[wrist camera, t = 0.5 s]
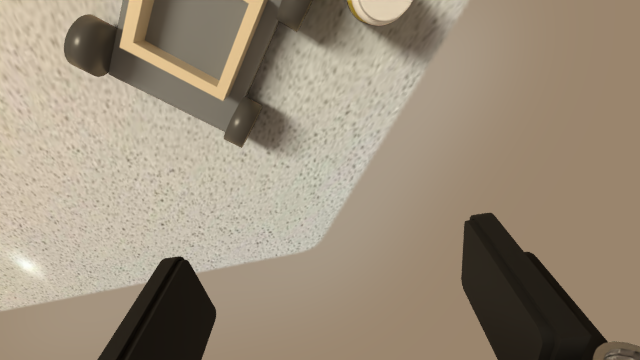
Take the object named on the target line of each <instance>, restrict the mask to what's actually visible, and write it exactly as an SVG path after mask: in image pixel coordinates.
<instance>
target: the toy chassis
mask: <svg viewBox="0 0 640 360" xmlns="http://www.w3.org/2000/svg"><path fill="white" fill-rule="evenodd" d="M312 1H313V0H123V2H122V7H121V12H120V17H119V22H118V27H117V28H116V27H114V26H112V25H110V24H109V23H107V22H105V21H103V20H101V19H99V18H97V17H95V16H93V15H84V16H81V17H80V18H78V19H77V20H76V21H75V22H74V23H73V24H72V26H71V27H70V29H69V30H68V33H67V35H66V38H65V43H64V53H65V57H66V59H67V61H68V62H69V63H70V64H72V65H74V66H76V67H78V68H80V69H82V70H84V71H86V72H88V73H90V74H92V75H94V76H97V77H100V76H104V75H105V74H107V73H108V72H109V75H111V76H113V77H115V78H117V79H119V80H121V81H123V82H125V83H127V84H129V85H131V86H134V87H136V88H138V89H140V90H142V91H144V92H146V93H148V94H150V95H152V96H154V97H156V98H158V99H160V100H162V101H164V102H166V103H168V104H170V105H172V106H174V107H176V108H178V109H180V110H182V111H184V112H186V113H188V114H190V115H192V116H194V117H196V118H198V119H200V120H202V121H204V122H206V123H208V124H210V125H212V126H214V127H216V128H218V129H220V130H222V131H224V132H225V135H224V139H225V140H227V141H229V142H231V143H233V144H235V145H237V146H239V147H241V148H242V147H243V145H244V143H245V142H246V140H247V138H248V136H249V134H250V132H251V130H252V128H253V126H254V124H255V122H256V120H257V117H258V115H259V113H260V111H261V109H262V105H260V104H258V103H257V102H255V101H253V100H251V99H249V98H247V94H248V92H249V90H250V87H251V85H252V83H253V81H254V78H255V76H256V74H257V71H258V69H259V67H260V65H261V62H262V60H263V58H264V55H265V53H266V51H267V49H268V46H269V44H270V42H271V39H272V37H273V35H274V33H275V30H276V28H277V26H278V23H279V21H280V22H282V23H283V24H285V25H286V26H288V27H290V28H291V29H293V30H295V31H296V32H297V31H298V29H299V27H300V26H301V24H302V22H303V20H304V18H305V16H306V14H307V12H308V10H309V8H310V5H311V3H312Z"/></svg>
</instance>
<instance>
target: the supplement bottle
mask: <svg viewBox="0 0 640 360" xmlns="http://www.w3.org/2000/svg"><path fill="white" fill-rule="evenodd" d="M412 1H413V0H347V4H348V7H349V9H350V11H351V13H352V14H353V15H354V16H355V17H356V18H357V19H358V20H360V21H362V22H365V23H368V24H371V25H375V26H382V25H387V24H390V23H392V22H394V21H395V20H397V19H398V18H399V17H400V16H401V15H402V14H403V13H404V12H405V11H406V10H407V9H408V8H409V6H410V5H411V3H412Z"/></svg>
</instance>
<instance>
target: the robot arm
mask: <svg viewBox="0 0 640 360" xmlns="http://www.w3.org/2000/svg"><path fill="white" fill-rule="evenodd" d="M461 279H462V286H463V289H464V291H465V293H466V295H467V297H468V299H469V301H470V304H471V305H472V308H473V310H474V312H475V314H476V316H477V318H478V320H479V322H480V324H481V326H482V328H483V330H484V332H485V334H486V336H487V338H488V340H489V342H490V345H491V346H492V349H493V351H494V353H495V355H496V357H497V359H498V360H640V347H639V346H636V345H633V344H629V343H625V342H607V340H606V339H605V338H604V337H603V336H602V334H601V333H600V332H599V331H598V330H597V328H596V327H595V326H594V325H593V324H592V323H591V321H590V320H589V319H588V318H587V317H586V315H585V314H584V313H583V312H582V311H581V309H580V308H579V307H578V306H577V305H576V304H575V302H574V301H573V300H572V299H571V298H570V296H569V295H568V294H567V293H566V292H565V290H564V289H563V288H562V287H561V286H560V285H559V283H558V282H557V281H556V280H555V279H554V277H553V276H552V275H551V274H550V273H549V271H548V270H547V269H546V268H545V267H544V265H543V264H542V263H541V262H540V261H539V260H538V258H537V257H536V256H535V255H534V254H532V253H530V252H523V250H522V249H521V248H520V247H519V245H518V244H517V243H516V242H515V240H514V239H513V238H512V237H511V235H510V234H509V233H508V232H507V230H506V229H505V228H504V227H503V226H502V224H501V223H500V222H499V221H498V219H497V218H496V217H495V216H494V215H493V214H492V213H485V214H478V215H472V216H471V217H470V220H469V221H465V226H464V243H463V260H462V277H461ZM215 319H216V309H215V307H214V305H213V304H212V302H211V300H210V298H209V297H208V295H207V293H206V291H205V289H204V288H203V286H202V284H201V282H200V281H199V279H198V277H197V275H196V274H195V272H194V270H193V268H192V266H191V265H190V263H189V262H188V261H187V260H184V258H183V257H172V258H165V259H163V260H162V261H161V262H160V263H159V265H158V266H157V268H156V270H155V271H154V273H153V274H152V276H151V277H150V279H149V280H148V282H147V284H146V285H145V287H144V288H143V290H142V291H141V293H140V294H139V296H138V298H137V299H136V301H135V302H134V304H133V305H132V307H131V309H130V310H129V312H128V313H127V315H126V316H125V318H124V319H123V321H122V322H121V324H120V326H119V327H118V329H117V330H116V332H115V333H114V335H113V337H112V338H111V340H110V341H109V343H108V344H107V346H106V347H105V349H104V351H103V352H102V354H101V355H100V357H99V358H98V360H201V359H202V356H203V353H204V351H205V348H206V345H207V342H208V339H209V336H210V333H211V330H212V328H213V325H214V322H215Z"/></svg>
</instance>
